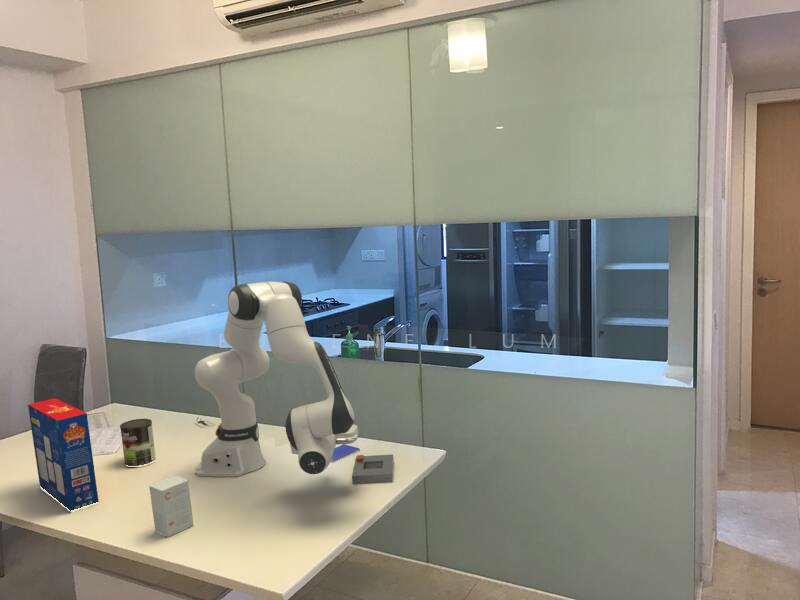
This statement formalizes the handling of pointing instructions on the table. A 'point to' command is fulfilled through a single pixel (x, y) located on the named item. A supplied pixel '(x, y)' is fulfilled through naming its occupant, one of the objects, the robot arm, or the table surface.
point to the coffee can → (138, 442)
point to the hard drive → (343, 452)
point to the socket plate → (373, 469)
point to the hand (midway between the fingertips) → (326, 426)
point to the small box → (171, 505)
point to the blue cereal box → (63, 452)
